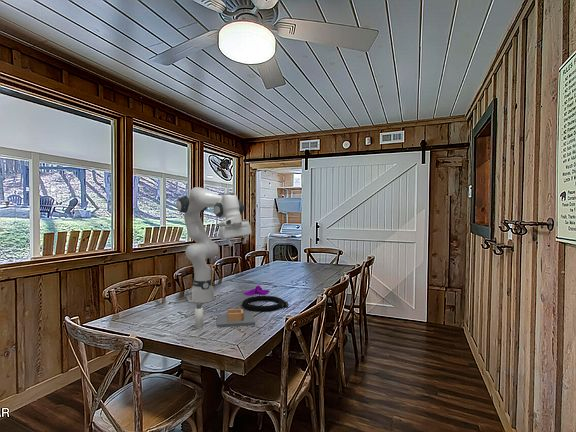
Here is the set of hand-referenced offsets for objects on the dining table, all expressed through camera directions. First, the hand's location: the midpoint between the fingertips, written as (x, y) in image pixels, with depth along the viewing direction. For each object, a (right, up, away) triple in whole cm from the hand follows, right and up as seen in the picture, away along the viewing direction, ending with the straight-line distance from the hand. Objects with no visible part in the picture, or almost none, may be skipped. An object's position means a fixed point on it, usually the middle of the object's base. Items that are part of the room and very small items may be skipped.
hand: (238, 245), depth 185 cm
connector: (-18, -42, -15) cm, 48 cm away
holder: (-1, -42, -5) cm, 42 cm away
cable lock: (+14, -42, +25) cm, 51 cm away
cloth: (+7, -42, +57) cm, 71 cm away
